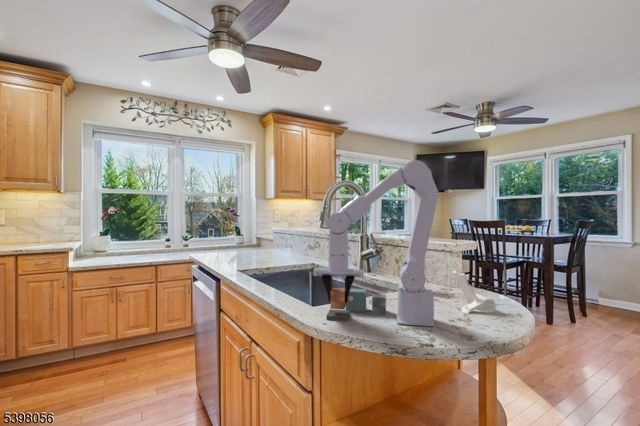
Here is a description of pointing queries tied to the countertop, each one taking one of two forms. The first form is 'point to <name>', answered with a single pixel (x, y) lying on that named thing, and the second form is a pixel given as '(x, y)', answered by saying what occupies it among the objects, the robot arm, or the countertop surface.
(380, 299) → the slate block
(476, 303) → the plastic part
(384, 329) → the countertop surface
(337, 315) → the mat
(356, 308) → the box
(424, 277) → the robot arm
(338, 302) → the terracotta block
